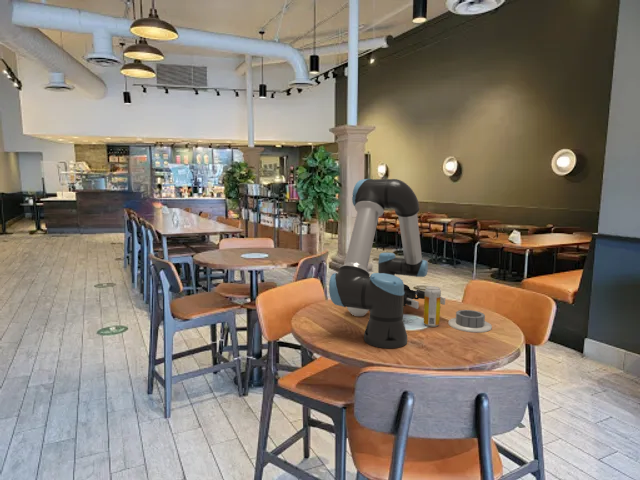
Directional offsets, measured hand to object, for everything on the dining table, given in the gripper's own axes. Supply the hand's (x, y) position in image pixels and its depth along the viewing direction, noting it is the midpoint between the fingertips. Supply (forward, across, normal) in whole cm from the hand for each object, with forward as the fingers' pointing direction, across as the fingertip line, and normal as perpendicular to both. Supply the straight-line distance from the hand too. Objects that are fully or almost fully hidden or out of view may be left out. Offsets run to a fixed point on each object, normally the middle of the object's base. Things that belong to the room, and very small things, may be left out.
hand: (431, 303), depth 167 cm
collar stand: (+8, -12, -8) cm, 17 cm away
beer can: (+1, +1, -9) cm, 9 cm away
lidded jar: (-23, +20, -9) cm, 32 cm away
